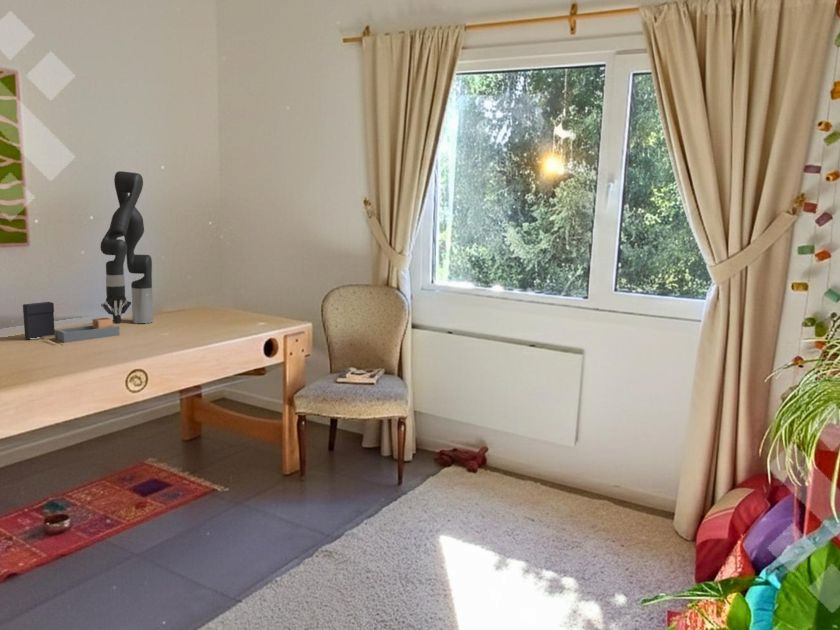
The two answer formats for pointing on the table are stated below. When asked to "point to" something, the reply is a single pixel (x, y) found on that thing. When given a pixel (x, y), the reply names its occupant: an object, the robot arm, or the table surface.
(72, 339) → the chute
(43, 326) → the dark grey upright box
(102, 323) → the block
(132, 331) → the table surface
